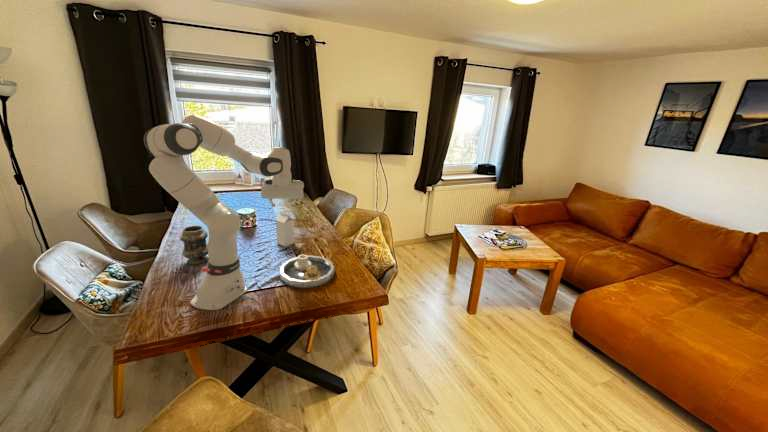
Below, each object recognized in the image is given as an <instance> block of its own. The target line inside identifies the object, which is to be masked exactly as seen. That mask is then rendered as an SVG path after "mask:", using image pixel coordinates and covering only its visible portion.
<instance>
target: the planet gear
mask: <svg viewBox="0 0 768 432" xmlns="http://www.w3.org/2000/svg"><path fill="white" fill-rule="evenodd" d="M308 256H309V255H307V254H299V255H297V260H298V261H296V262H295V263H294V268H295V269H297V270H300V271H302V270H303V271H304V270H305V266H306V264H309V266H310V265H311V262H310V261H308Z"/></svg>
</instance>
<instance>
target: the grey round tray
mask: <svg viewBox="0 0 768 432" xmlns="http://www.w3.org/2000/svg"><path fill="white" fill-rule="evenodd" d="M307 256H308V261H310V262H311V265H310V266H309V264H306V266H305V270H304V271H303V270H302V271H300V270H297V269H295V268H294V263H295V262H296V261H298V260H297V257H298V256H297V257H293V258H290V259H287V260H286V261H285V262H283V264H282V265H281V266H280V267H279V270H280V271H279V278H280V281H281V282H282V283H283V284H284V285H286V286H287V287H288V286H289V287H291V288H296V289H312V288H317V287H320V286H323V285H326V284H327V283H329V282H330V281H331V280H332V279H333V278H334V276H335V275H334V274H335V266H334V264H333V261H331V260H330V259H328V258H326V257H324V256H319V255H317V256H316V255H307Z"/></svg>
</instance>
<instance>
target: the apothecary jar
mask: <svg viewBox="0 0 768 432" xmlns="http://www.w3.org/2000/svg"><path fill="white" fill-rule="evenodd" d="M207 237H209V232H208V231H206V230H205V229H204V227H203V226H202V225H190V226H186V227H184V228H183V229H182V233H181V234H180V235H179V240H180V241H181V242H183V245H184V248H183V250H182V251H181V254H182V256H183V257H184V258H186V259H188V260H187V261H186V265H188V266H190V267H191V266H193V267H194V266H201V265H204V264H206V263H208V262H209V256H208V249H207V244H208V243H207Z"/></svg>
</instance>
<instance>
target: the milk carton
mask: <svg viewBox="0 0 768 432" xmlns="http://www.w3.org/2000/svg"><path fill="white" fill-rule="evenodd" d="M275 226H276V227H275V229H276V230H275V231H276V244H278V245H280V246H282V247H284V248H286V247H288V246H290V245H293V244H295V220H294V219H293V218H292V217H291V216H290V215H289V214H288V213H286V212H280V214H279V215H278V216H277V218H276V219H275Z"/></svg>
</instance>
